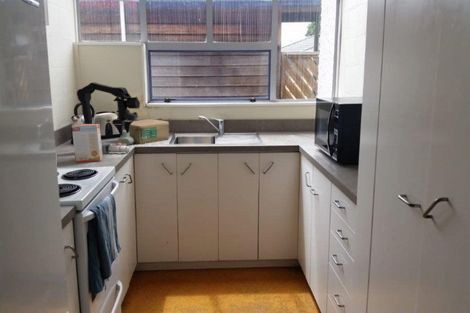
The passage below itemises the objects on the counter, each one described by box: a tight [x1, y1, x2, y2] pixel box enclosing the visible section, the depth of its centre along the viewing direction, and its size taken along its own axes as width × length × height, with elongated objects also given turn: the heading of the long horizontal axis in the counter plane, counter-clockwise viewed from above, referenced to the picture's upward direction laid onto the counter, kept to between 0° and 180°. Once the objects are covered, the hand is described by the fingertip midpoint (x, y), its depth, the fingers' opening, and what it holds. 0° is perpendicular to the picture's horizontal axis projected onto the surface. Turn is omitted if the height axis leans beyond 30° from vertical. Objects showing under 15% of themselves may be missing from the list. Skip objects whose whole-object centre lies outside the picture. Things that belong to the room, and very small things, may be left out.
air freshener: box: [116, 130, 134, 146], centre depth 285 cm, size 11×8×10 cm
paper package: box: [123, 118, 170, 145], centre depth 302 cm, size 27×26×14 cm
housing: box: [101, 142, 111, 155], centre depth 259 cm, size 6×8×6 cm
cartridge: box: [109, 145, 131, 153], centre depth 258 cm, size 12×4×4 cm, turn 81°
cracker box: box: [71, 123, 104, 163], centre depth 236 cm, size 14×6×21 cm, turn 92°
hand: (124, 134), depth 255 cm, fingers open, 9 cm apart
